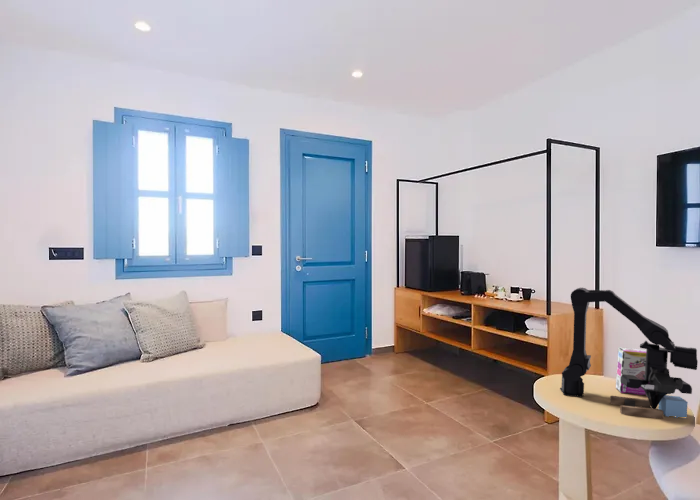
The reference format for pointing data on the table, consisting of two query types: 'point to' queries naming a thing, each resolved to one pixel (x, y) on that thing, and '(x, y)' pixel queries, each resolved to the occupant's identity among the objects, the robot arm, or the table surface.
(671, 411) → the block
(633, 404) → the brown rails
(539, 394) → the table surface
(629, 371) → the candy bar box
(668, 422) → the table surface
